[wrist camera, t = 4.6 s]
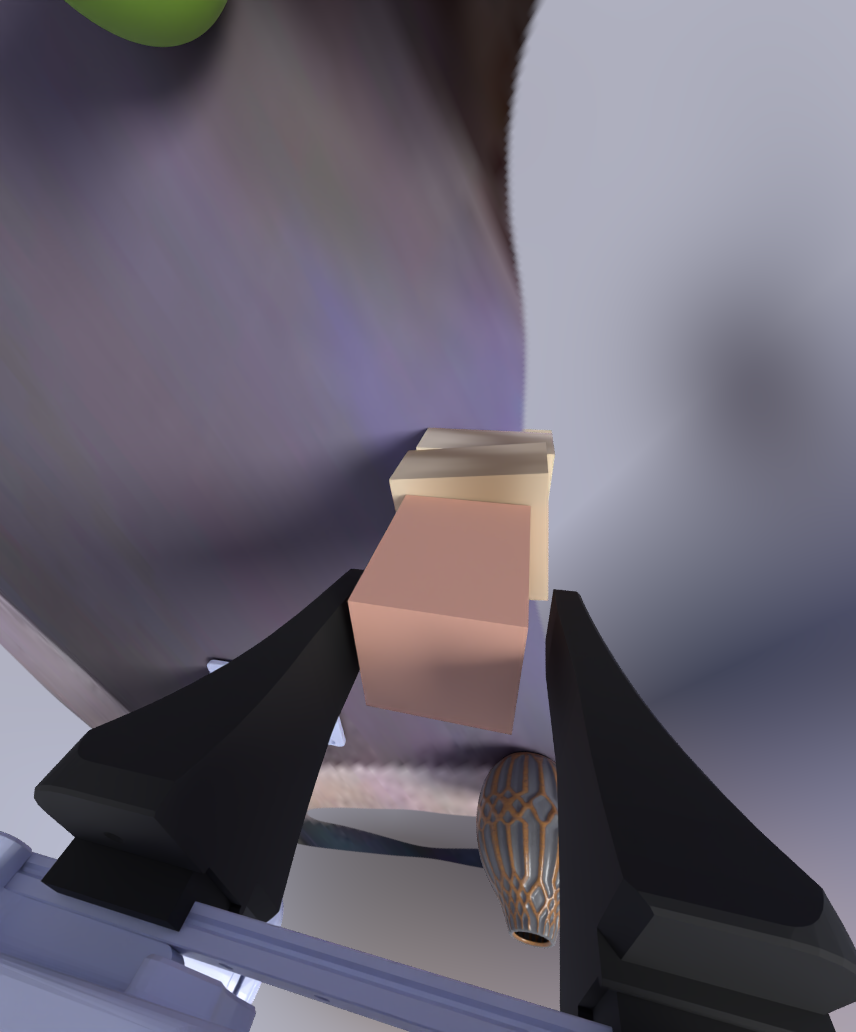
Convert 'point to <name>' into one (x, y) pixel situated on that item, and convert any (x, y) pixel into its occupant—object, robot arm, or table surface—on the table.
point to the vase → (522, 845)
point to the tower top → (486, 488)
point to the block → (446, 612)
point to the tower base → (486, 440)
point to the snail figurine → (152, 18)
